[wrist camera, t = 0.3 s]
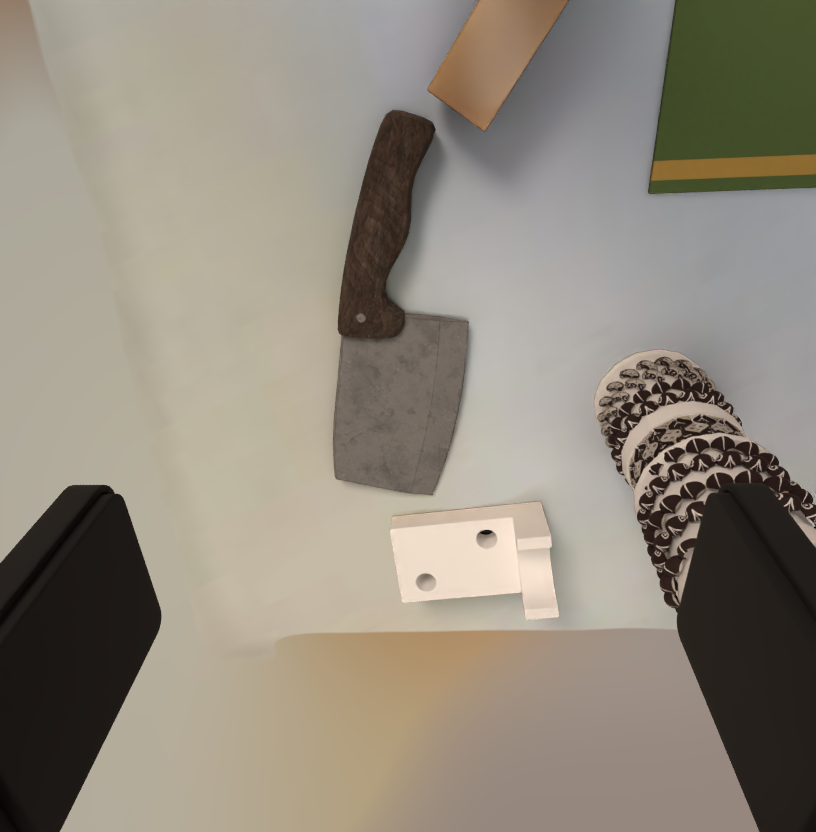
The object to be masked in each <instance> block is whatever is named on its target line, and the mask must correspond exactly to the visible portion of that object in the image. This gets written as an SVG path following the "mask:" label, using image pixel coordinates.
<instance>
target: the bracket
mask: <svg viewBox="0 0 816 832" xmlns="http://www.w3.org/2000/svg"><path fill="white" fill-rule="evenodd" d="M482 530H491V531H493V532H492V533H491V534H488V535H483V534H481V533H479V532H480V531H482ZM390 534H391V540H392V546H393V551H394V557H395V563H396V569H397V575H398V580H399V586H400V592H401V598H402V603H404V602H416V601H428V600H440V599H451V598H463V597H475V596H487V595H498V594H510V593H522V599H523V605H524V611H525V617H526V620H530V619H543V618H556V617H559V612H558V605H557V600H556V595H555V590H554V583H553V577H552V569H551V560H550V547H552V542H551V535H550V531H549V528H548V524H547V521H546V518H545V514H544V511H543V508H542V504H541V501H539V502H529V503H519V504H510V505H500V506H490V507H480V508H470V509H461V510H451V511H441V512H431V513H422V514H412V515H402V516H393V519H392V523H391V526H390Z"/></svg>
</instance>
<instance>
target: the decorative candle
mask: <svg viewBox="0 0 816 832" xmlns="http://www.w3.org/2000/svg"><path fill="white" fill-rule="evenodd" d="M723 401H724V396H723V394H721V393H720V392H718V391H717V390H715V384H714V382H713V381H712V380H710V379H709V378H707V375H706V373H705V372H704V371H703V370H701V369H700V368H699V367H698V365H697V364H696V363H694V362H693V361H691V360H690V359H688V358H687V357H685V356H684V355H682V354H681V353H677V352H672V351H666V350H661V349H657V350H651V351H646V352H640V353H636V354H634V355H632V356H630V357H628V358H626V359H624V360H623V361H621V362H619V363H617V364H615V366H614V367H613V368H612V369H611V370H610V371H609V372H608V373H607V374H606V375H605V377H604V378H603V379H602V380H601V382H600V384H599V387H598V390H597V392H596V395H595V398H594V405H595V417H596V419H597V421H598V422H599V424H600V425H601V427H602V429H601V433H602V435H604V436H609V438H608V439H606V441H605V443H606V445H607V446H608V447H610V448H613V450H612V452H611V456H612V458H613V460H614V461H616V462H617V464H616V468H617V471H618V472H619V473H620V474H621V475H624V476H625V477H626V479H625V480H626V482H627V483H628V484H629V485H630V486H631V488H632V490H633V491H634V499H635V512H636V514H637V519H638V522H639V523H640V524H642V532H643V534H644V540H645V542H646V543H647V544H648V545H649V546H648V548H647V551H648V554H649V555H650V556H651V561H652V564H653V565H654V566H655V567H656V568H657V575H658V577H659V578H660V588H661V590H662V591H663V592H665V594H664V600H665V602H666V604H667V605H668V606H670V607H672V608H675V609H676V612H677V613H678V609H679V605H680V601H681V598H682V594H683V590H684V586H685V582H686V578H687V574H688V570H689V566H690V562H691V558H692V554H693V550H694V546H695V542H696V538H697V534H698V530H699V526H700V523H701V519H702V515H703V511H704V507H705V503H706V499H707V497H708V495H709V494H710V493H718V490H719V488H720V487H721V486H722V484H725V483H763V484H766V485H767V486H768V487H769V488H770V489H771V490H772V491H773V492H774V494H775V495H776V496H777V498H778V499H779V500H780V502H781V503H782V504H783V506H784V507H785V508H786V509H787V511H788V512H789V513H790V515H791V516H792V517H793V519H794V520H795V521H796V523H797V524H798V525H799V526H800V528H801V529H802V530H803V532H804V533H805V534H806V536H807V537H808V538H809V540H810V541H811V542H812V543H813V545H814V546H815V547H816V527H813V526H812V525H811V524H810V522H809V521H808V520H807V518H806V517H808V518H809V519H810V520H812V521H813V522H814V524H815V526H816V505H814V504H812V503H813V497H812V495H811V494H810V493H809V492H808V491H806V490H804V489H801V487H800V485H798V484H797V483H796V482H794V481H790V477H789V474H788V472H787V471H786V470H785V469H784V468H782V467H780V466H778V465H779V461H778V459H777V457H775V456H774V455H773V454H770V453H769V452H768V451H767V450H765V449H764V448H762V447H761V446H759V445H758V444H756V443H755V442H753V441H752V440H750V439H749V438H747V436H746V434H745V432H744V430H743V428H742V422H741V420H740V418H739V417H737V416H735V415H732V413H733V406H732V405H731V404H729V403H727V402H723ZM675 590H676V591H678V597H677V596H676V591H675Z"/></svg>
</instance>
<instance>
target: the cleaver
mask: <svg viewBox="0 0 816 832" xmlns="http://www.w3.org/2000/svg"><path fill="white" fill-rule="evenodd" d="M434 133H435V127H434V125H433V123H432V122H431V121H429V120H427V119H425V118H423V117H420V116H417V115H414V114H411V113H407V112H404V111H397V110H392V111H390V112H389V113H387V114H386V116H385V118H384V119H383V121H382V123H381V126H380V128H379V131H378V134H377V137H376V139H375V142H374V145H373V149H372V152H371V155H370V158H369V161H368V165H367V169H366V172H365V176H364V180H363V184H362V188H361V192H360V196H359V200H358V204H357V208H356V213H355V217H354V221H353V226H352V231H351V235H350V240H349V245H348V250H347V255H346V261H345V267H344V273H343V280H342V287H341V295H340V304H339V315H338V331H339V334H341V335H342V338H341V349H340V359H339V370H338V380H337V391H336V402H335V413H334V428H333V457H334V472H335V478H336V479H338V480H343V481H348V482H353V483H358V484H364V485H369V486H374V487H379V488H384V489H390V490H395V491H400V492H405V493H411V494H424V495H433V492H434V490H435V487H436V485H437V482H438V479H439V477H440V474H441V471H442V468H443V466H444V463H445V460H446V457H447V453H448V450H449V447H450V443H451V440H452V436H453V432H454V428H455V424H456V419H457V415H458V410H459V404H460V399H461V394H462V387H463V379H464V372H465V362H466V351H467V338H468V323H469V322H468V321H462V320H456V319H450V318H445V317H438V316H428V315H418V314H408V313H404V311H403V310H402V309H400V308H399V307H398V306H396V305H394V304H393V303H391V302H390V301H388V298H387V295H386V292H385V287H386V280H387V277H388V275H389V272H390V270H391V268H392V266H393V264H394V263H395V261H396V259H397V257H398V255H399V254H400V252H401V250H402V248H403V246H404V244H405V241H406V239H407V236H408V234H409V228H410V221H411V194H412V187H413V183H414V178H415V175H416V173H417V170H418V168H419V166H420V164H421V162H422V159H423V157H424V155H425V153H426V151H427V149H428V147H429V145H430V143H431V142H432V139H433V136H434Z"/></svg>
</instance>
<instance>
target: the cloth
mask: <svg viewBox="0 0 816 832" xmlns="http://www.w3.org/2000/svg"><path fill="white" fill-rule="evenodd" d="M814 187H816V0H676V2H675V9H674V16H673V23H672V30H671V37H670V44H669V51H668V58H667V65H666V72H665V79H664V86H663V93H662V100H661V107H660V114H659V121H658V128H657V135H656V142H655V149H654V156H653V163H652V170H651V177H650V184H649V191H648V193H649V194H655V193H682V192H708V191H735V190H761V189H787V188H814Z"/></svg>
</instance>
